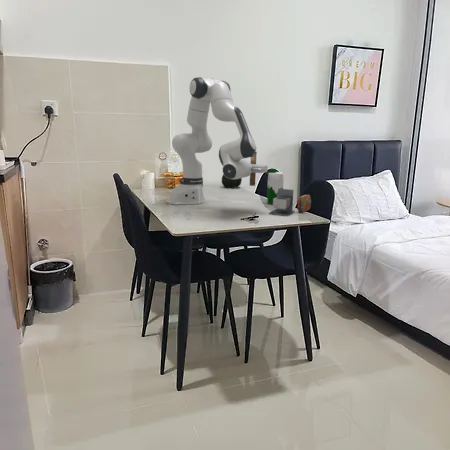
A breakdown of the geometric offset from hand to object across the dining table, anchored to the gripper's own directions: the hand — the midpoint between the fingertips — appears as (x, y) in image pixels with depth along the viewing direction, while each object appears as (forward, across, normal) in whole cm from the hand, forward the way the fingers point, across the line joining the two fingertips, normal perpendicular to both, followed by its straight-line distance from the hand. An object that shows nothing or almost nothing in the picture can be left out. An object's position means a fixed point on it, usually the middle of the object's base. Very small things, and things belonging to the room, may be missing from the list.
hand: (253, 166), depth 217 cm
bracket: (-4, -19, +22) cm, 30 cm away
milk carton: (+20, -6, +23) cm, 31 cm away
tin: (+8, -27, +23) cm, 36 cm away
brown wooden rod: (-1, 0, +10) cm, 10 cm away
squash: (+64, +44, +23) cm, 81 cm away
